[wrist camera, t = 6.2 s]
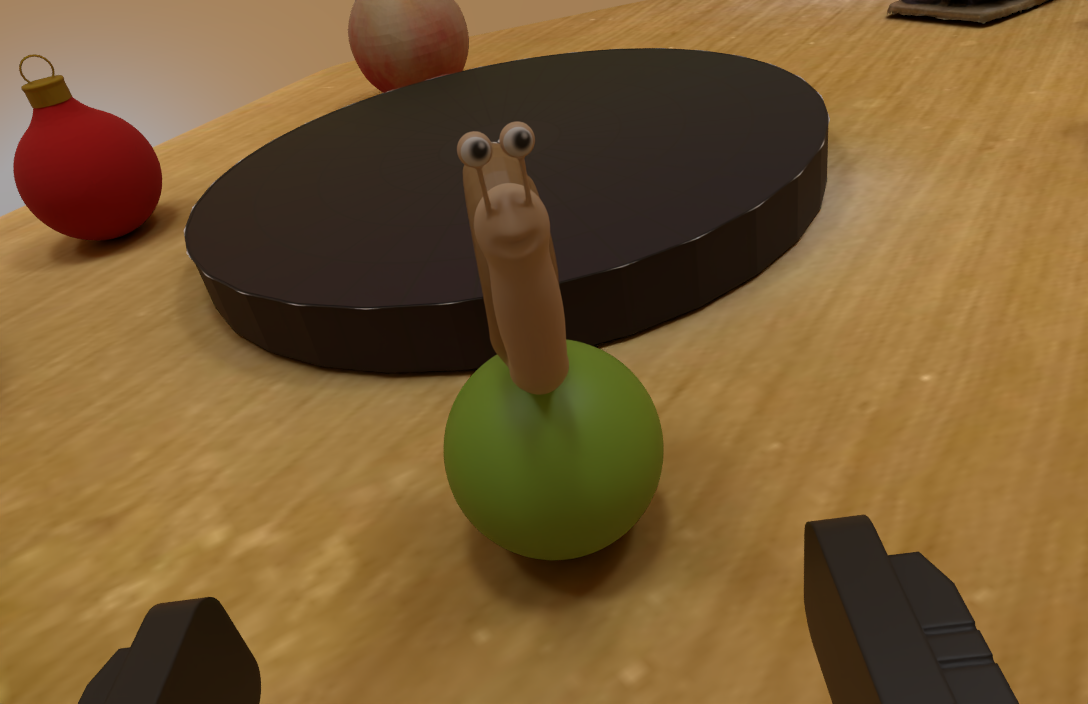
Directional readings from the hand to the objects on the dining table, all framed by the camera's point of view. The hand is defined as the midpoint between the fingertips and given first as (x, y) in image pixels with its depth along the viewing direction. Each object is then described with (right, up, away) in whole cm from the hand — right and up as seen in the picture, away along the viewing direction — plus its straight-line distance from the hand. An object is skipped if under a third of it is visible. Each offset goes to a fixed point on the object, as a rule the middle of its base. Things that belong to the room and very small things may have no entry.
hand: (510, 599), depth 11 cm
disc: (-1, +11, +30) cm, 32 cm away
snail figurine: (+1, -2, +10) cm, 11 cm away
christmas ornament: (-24, +10, +35) cm, 44 cm away
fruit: (-8, +22, +48) cm, 53 cm away
